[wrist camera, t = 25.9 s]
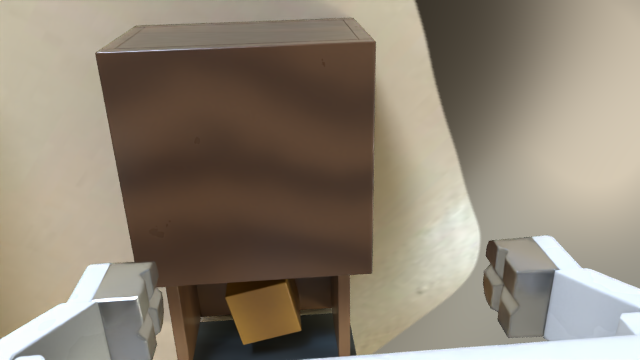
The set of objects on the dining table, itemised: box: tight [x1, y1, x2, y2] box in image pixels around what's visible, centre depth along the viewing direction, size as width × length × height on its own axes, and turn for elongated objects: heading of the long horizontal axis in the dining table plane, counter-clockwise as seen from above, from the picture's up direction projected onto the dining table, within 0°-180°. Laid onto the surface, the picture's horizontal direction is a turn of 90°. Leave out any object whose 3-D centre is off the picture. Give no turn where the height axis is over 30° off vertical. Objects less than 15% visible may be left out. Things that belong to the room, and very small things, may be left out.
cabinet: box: [95, 18, 376, 287], centre depth 36 cm, size 15×15×9 cm
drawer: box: [166, 275, 356, 360], centre depth 42 cm, size 20×13×7 cm
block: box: [225, 279, 301, 345], centre depth 41 cm, size 4×4×4 cm
